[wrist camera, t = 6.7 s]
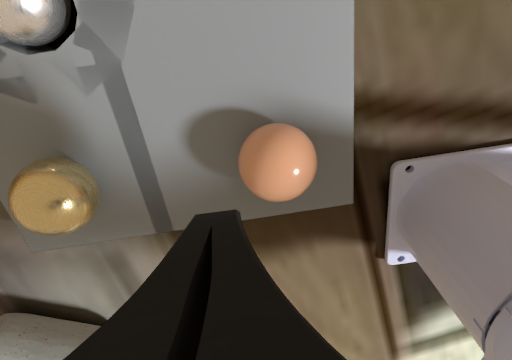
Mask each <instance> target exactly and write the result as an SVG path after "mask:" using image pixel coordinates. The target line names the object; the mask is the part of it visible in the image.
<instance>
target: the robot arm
mask: <svg viewBox="0 0 512 360" xmlns="http://www.w3.org/2000/svg"><path fill="white" fill-rule="evenodd" d="M410 165H411V167H410V169H409V170H406V171H405V169H406V168H407V167H408V166H410ZM400 256H401V257H400ZM398 257H400V258H398ZM385 260H386V262H387V263H388V264H389V265H396V264H403V263H409V262H416V261H417V262H418V264H419V265H420V266H421V268H422V269H423V270H424V272H425V273H426V274H427V276H428V277H429V279H430V280H431V281H432V283H433V284H434V285H435V287H436V288H437V289H438V291H439V292H440V294H441V295H442V296H443V298H444V299H445V300H446V302H447V303H448V305H449V306H450V307H451V309H452V310H453V311H454V313H455V314H456V315H457V317H458V318H459V320H460V321H461V322H462V324H463V325H464V326H465V328H466V329H467V330H468V332H469V333H470V335H471V336H472V337H473V339H474V340H475V341H476V343H477V344H478V346H479V347H480V348H481V350H482V351H483V352H484V357H483V358H482V360H512V144H506V145H499V146H492V147H486V148H479V149H473V150H466V151H460V152H453V153H447V154H440V155H434V156H427V157H421V158H414V159H407V160H401V161H397V162H395V163H394V164H393V165H392V166H391V169H390V183H389V199H388V214H387V230H386V246H385ZM63 360H346V359H345V358H344V357H343V356H342V355H341V354H340V353H339V352H338V351H337V350H336V349H334V348H333V347H332V346H331V345H330V344H329V343H328V342H327V341H326V340H325V339H324V338H323V337H322V336H321V335H320V334H319V333H318V332H317V331H316V330H315V329H314V328H313V326H312V325H311V324H310V323H309V322H308V321H307V320H306V319H305V318H304V317H303V316H302V315H301V314H300V313H299V312H298V311H297V309H296V308H295V307H294V306H293V305H292V304H291V302H290V301H289V300H288V299H287V298H286V296H285V295H284V294H283V292H282V291H281V290H280V289H279V287H278V286H277V285H276V283H275V282H274V281H273V279H272V278H271V276H270V275H269V274H268V272H267V270H266V269H265V267H264V266H263V264H262V263H261V261H260V260H259V258H258V256H257V254H256V253H255V251H254V249H253V247H252V245H251V243H250V241H249V239H248V237H247V235H246V233H245V230H244V228H243V225H242V220H241V214H240V212H239V211H238V210H236V209H234V210H227V211H219V212H212V213H204V214H196V215H195V216H194V217H193V218H192V220H191V221H190V223H189V224H188V225H187V227H186V228H185V230H184V231H183V233H182V234H181V235H180V237H179V238H178V240H177V241H176V242H175V244H174V245H173V247H172V248H171V249H170V251H169V252H168V253H167V255H166V256H165V257H164V258H163V260H162V261H161V262H160V264H159V265H158V266H157V267H156V269H155V270H154V271H153V272H152V273H151V275H150V276H149V277H148V278H147V279H146V281H145V282H144V283H143V284H142V285H141V286H140V288H139V289H138V290H137V291H136V292H135V293H134V294H133V295H132V296H131V297H130V298H129V300H128V301H127V302H126V303H125V304H124V305H123V306H122V307H121V308H120V309H119V310H118V311H117V312H116V313H115V314H114V315H113V316H112V317H110V318H109V319H108V320H107V321H106V322H105V323H104V324H103V325H102V326H101V327H100V328H98V329H97V330H96V331H95V332H94V333H93V334H92V335H91V336H89V337H88V338H87V339H86V340H85V341H84V342H83V343H81V344H80V345H79V346H78V347H77V348H76V349H75V350H73V351H72V352H71V353H70V354H69V355H68V356H67V357H65V358H64V359H63Z"/></svg>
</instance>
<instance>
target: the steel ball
mask: <svg viewBox="0 0 512 360" xmlns="http://www.w3.org/2000/svg"><path fill="white" fill-rule="evenodd" d="M70 17H71V3H70V0H0V37H1V38H3V39H5V40H8V41H10V42H13V43H16V44H20V45H26V46H39V45H44V44H48V43H50V42H53V41H54V40H56V39H58V38H59V37H60V36H61V35H62V34H63V33H64V32H65V30H66V28H67V27H68V24H69V21H70Z"/></svg>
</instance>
